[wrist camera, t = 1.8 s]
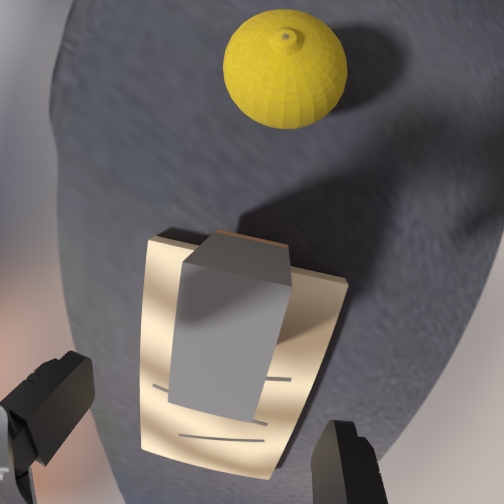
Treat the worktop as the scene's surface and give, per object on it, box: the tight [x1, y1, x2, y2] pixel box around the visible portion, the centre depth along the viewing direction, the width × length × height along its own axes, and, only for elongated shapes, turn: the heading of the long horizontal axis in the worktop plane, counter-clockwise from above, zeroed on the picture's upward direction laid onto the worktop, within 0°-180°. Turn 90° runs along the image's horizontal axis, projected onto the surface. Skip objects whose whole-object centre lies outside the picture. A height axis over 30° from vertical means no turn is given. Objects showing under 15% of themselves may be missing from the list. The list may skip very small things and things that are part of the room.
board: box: [140, 236, 348, 480], centre depth 21 cm, size 20×12×1 cm, turn 168°
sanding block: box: [168, 229, 292, 423], centre depth 15 cm, size 7×4×6 cm, turn 168°
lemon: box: [223, 9, 347, 129], centre depth 12 cm, size 6×6×8 cm
